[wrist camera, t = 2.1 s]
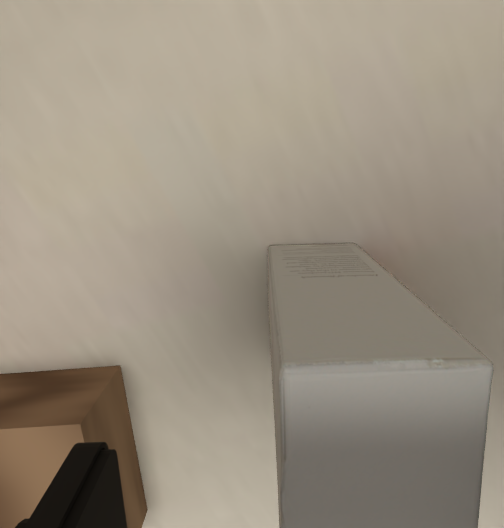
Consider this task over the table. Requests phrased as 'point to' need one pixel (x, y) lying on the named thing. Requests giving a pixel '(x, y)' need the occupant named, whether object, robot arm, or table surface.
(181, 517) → the table surface
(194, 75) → the table surface
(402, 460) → the skincare box
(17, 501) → the walnut block
